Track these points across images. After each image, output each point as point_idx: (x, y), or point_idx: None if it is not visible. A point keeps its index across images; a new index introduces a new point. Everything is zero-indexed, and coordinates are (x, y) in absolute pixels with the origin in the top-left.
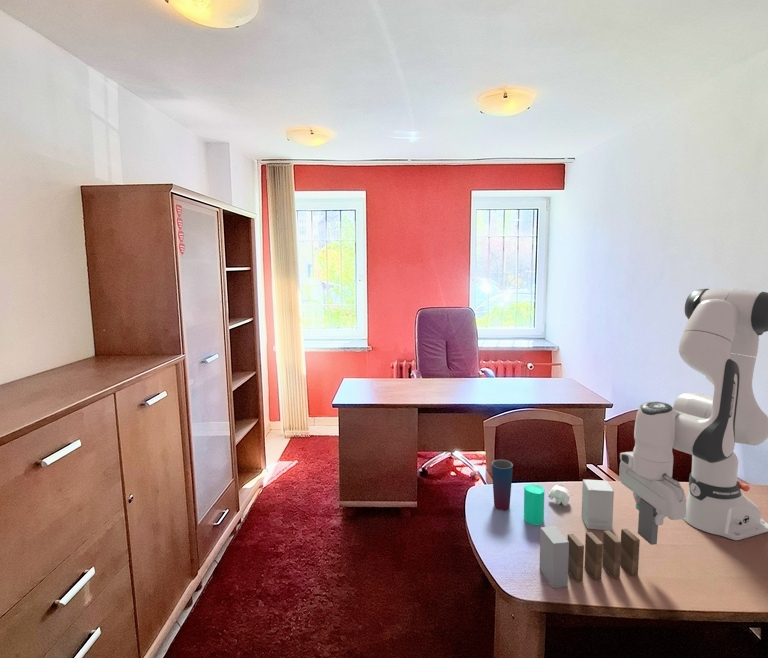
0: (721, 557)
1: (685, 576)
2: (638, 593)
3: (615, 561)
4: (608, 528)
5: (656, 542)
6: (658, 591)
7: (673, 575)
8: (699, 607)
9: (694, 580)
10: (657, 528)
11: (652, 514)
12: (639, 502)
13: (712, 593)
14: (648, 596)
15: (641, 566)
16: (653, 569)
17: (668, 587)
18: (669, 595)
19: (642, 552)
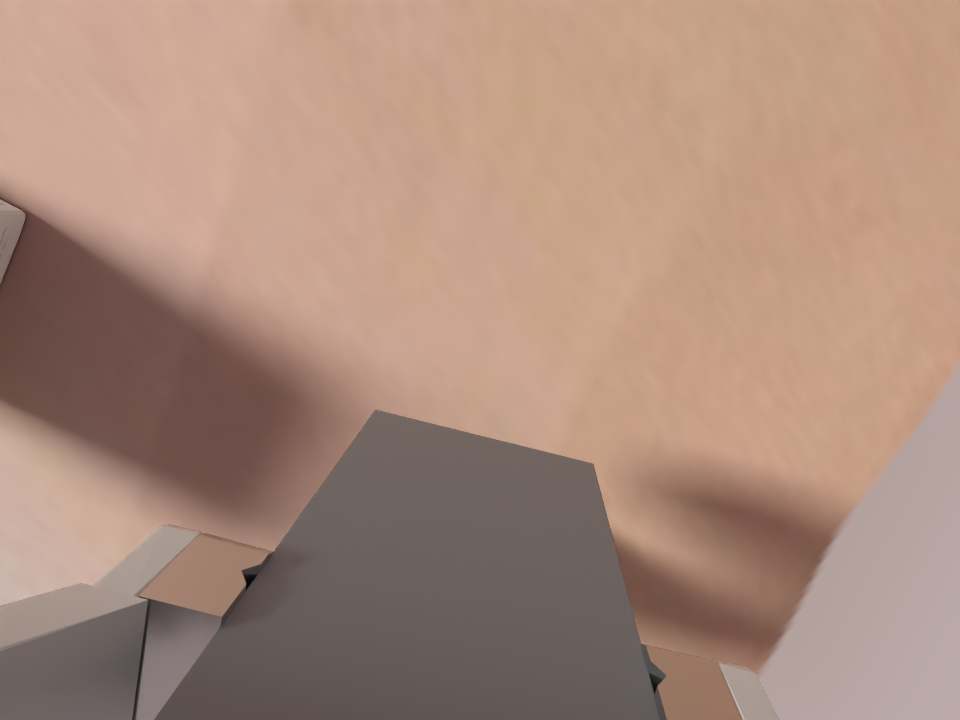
0: None
1: (684, 177)
2: (654, 620)
3: None
4: (5, 242)
5: (592, 475)
6: (699, 498)
7: (636, 254)
8: (927, 392)
9: (746, 155)
10: (620, 575)
11: None
12: (110, 697)
13: (899, 168)
14: (701, 590)
15: (468, 382)
16: (527, 331)
17: (705, 404)
18: (758, 467)
19: (342, 229)
